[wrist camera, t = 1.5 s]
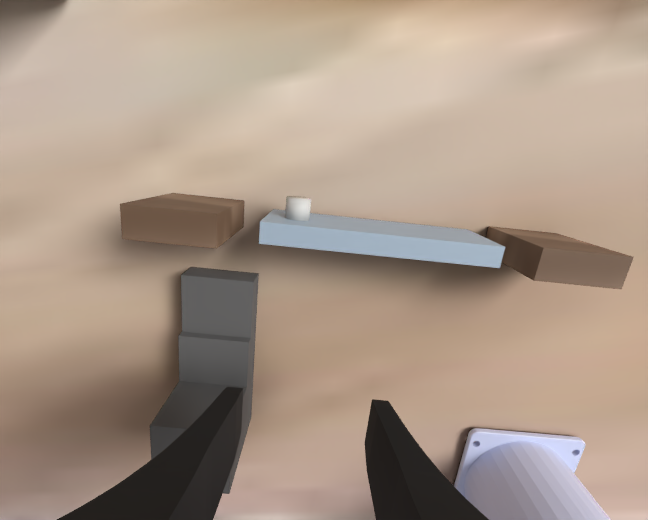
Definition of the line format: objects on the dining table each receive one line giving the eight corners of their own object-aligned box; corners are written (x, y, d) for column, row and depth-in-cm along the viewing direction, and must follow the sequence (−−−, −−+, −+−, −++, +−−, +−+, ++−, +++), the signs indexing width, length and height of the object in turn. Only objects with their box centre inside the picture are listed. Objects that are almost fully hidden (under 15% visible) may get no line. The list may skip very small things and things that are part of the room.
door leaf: (464, 246, 19) (499, 268, 15) (272, 226, 19) (258, 243, 15) (472, 211, 19) (511, 225, 15) (274, 190, 18) (261, 198, 14)
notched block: (251, 417, 23) (229, 493, 18) (192, 412, 23) (153, 487, 18) (258, 273, 20) (235, 313, 15) (191, 266, 20) (143, 304, 15)
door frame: (548, 258, 20) (621, 289, 15) (173, 219, 19) (122, 239, 14) (556, 233, 19) (633, 257, 14) (172, 193, 19) (119, 203, 14)
